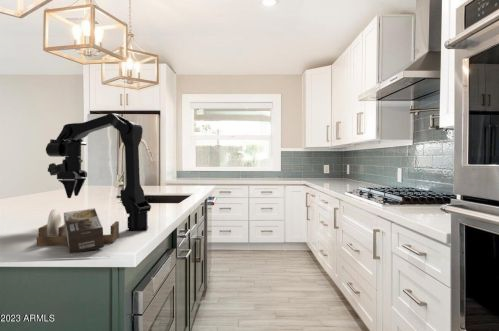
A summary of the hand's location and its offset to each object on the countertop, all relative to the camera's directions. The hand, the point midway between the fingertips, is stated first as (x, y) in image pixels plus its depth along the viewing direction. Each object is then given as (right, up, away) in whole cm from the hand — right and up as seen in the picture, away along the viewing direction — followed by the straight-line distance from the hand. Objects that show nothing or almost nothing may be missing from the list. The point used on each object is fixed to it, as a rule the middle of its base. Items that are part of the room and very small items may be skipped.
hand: (72, 196), depth 141 cm
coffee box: (+16, -5, -27) cm, 32 cm away
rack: (+15, -12, -27) cm, 33 cm away
